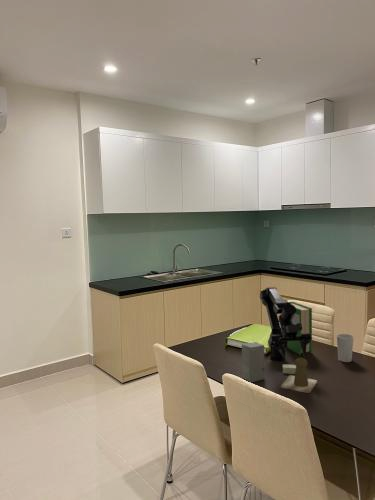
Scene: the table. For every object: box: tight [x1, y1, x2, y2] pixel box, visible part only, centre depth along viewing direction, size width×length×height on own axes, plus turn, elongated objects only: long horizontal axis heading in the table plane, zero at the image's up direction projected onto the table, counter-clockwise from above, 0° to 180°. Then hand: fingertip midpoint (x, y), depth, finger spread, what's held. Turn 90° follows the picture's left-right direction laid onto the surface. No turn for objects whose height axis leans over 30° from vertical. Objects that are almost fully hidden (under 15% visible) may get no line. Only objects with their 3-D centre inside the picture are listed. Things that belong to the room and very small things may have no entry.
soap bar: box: [282, 364, 296, 375], centre depth 185 cm, size 6×4×3 cm, turn 77°
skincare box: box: [241, 341, 265, 383], centre depth 179 cm, size 8×7×16 cm
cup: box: [336, 333, 355, 363], centre depth 198 cm, size 8×8×12 cm
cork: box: [294, 357, 309, 387], centre depth 169 cm, size 6×6×11 cm
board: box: [280, 374, 318, 394], centre depth 171 cm, size 12×12×1 cm
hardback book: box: [287, 301, 313, 355], centre depth 216 cm, size 18×7×24 cm, turn 17°
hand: (294, 356), depth 176 cm, fingers open, 9 cm apart
